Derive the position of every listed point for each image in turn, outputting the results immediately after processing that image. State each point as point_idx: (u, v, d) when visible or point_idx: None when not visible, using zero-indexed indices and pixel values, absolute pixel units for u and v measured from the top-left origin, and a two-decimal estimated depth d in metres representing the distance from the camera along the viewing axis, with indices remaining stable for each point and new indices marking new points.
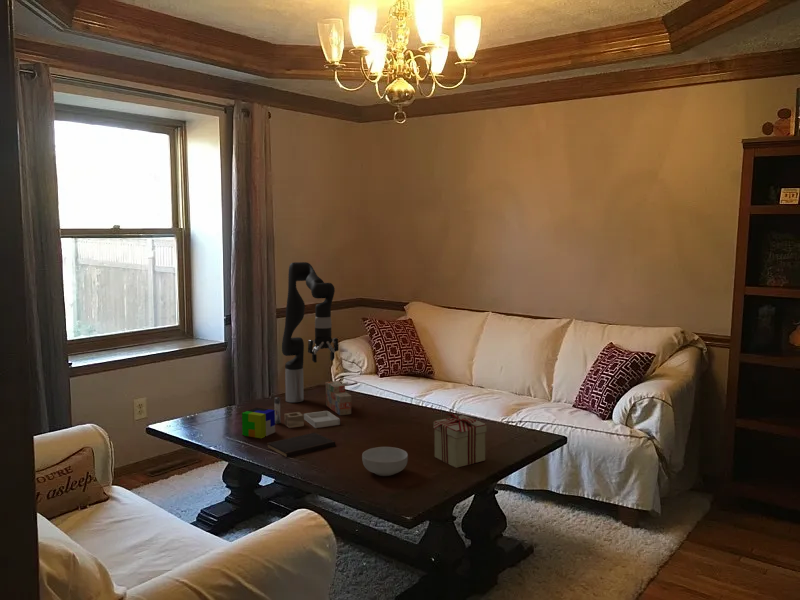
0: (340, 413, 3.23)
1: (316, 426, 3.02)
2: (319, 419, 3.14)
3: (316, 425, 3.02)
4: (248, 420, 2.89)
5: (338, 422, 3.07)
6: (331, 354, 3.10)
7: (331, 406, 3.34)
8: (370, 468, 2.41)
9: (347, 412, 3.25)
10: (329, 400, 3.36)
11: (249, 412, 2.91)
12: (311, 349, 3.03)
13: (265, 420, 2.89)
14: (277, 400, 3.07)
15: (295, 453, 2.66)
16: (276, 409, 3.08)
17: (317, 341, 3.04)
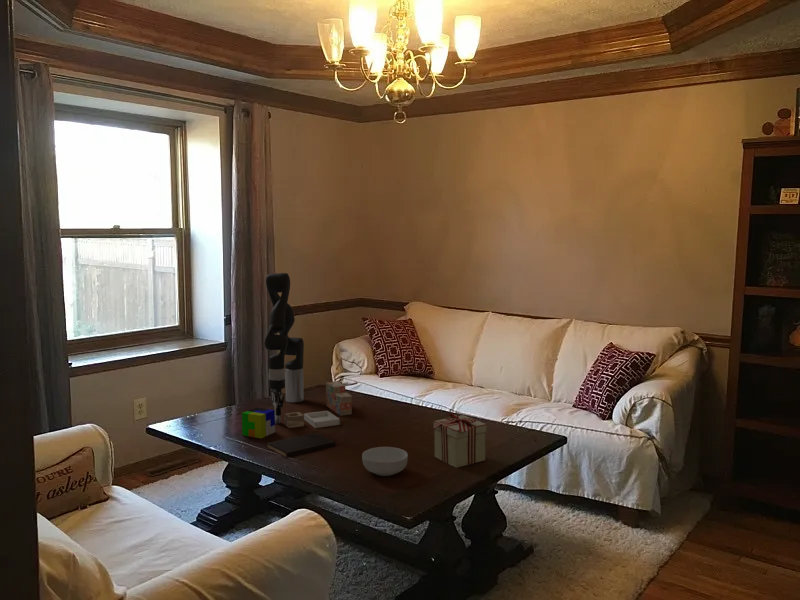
0: (341, 413, 3.23)
1: (316, 426, 3.02)
2: (319, 419, 3.14)
3: (316, 425, 3.02)
4: (248, 420, 2.89)
5: (338, 422, 3.07)
6: None
7: (331, 406, 3.33)
8: (370, 468, 2.41)
9: (348, 412, 3.24)
10: (329, 400, 3.36)
11: (249, 412, 2.91)
12: None
13: (265, 420, 2.89)
14: (277, 400, 3.07)
15: (295, 453, 2.66)
16: None
17: None
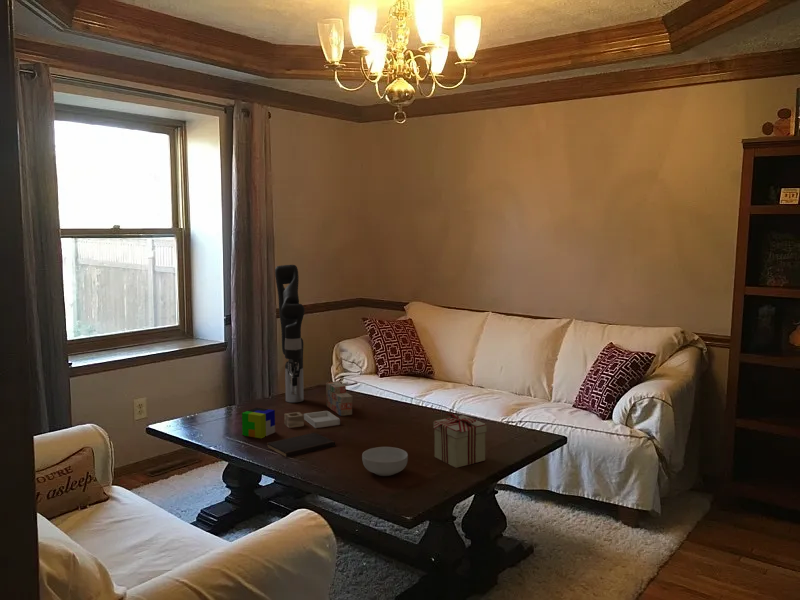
0: (341, 414, 3.22)
1: (316, 426, 3.02)
2: (319, 419, 3.14)
3: (316, 425, 3.02)
4: (248, 420, 2.89)
5: (338, 422, 3.07)
6: None
7: (332, 407, 3.33)
8: (370, 468, 2.41)
9: (348, 413, 3.24)
10: (330, 401, 3.35)
11: (249, 412, 2.91)
12: None
13: (265, 420, 2.89)
14: (293, 370, 3.03)
15: (295, 453, 2.66)
16: None
17: None
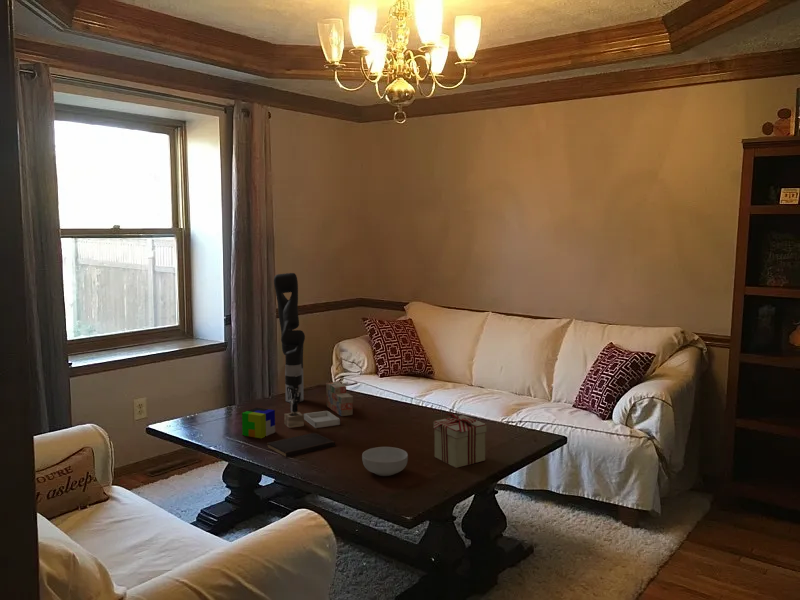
0: (342, 414, 3.22)
1: (316, 426, 3.02)
2: (319, 419, 3.14)
3: (316, 425, 3.02)
4: (248, 420, 2.89)
5: (338, 422, 3.07)
6: None
7: (332, 407, 3.32)
8: (370, 468, 2.41)
9: (349, 413, 3.23)
10: (330, 401, 3.35)
11: (249, 412, 2.91)
12: None
13: (265, 420, 2.89)
14: None
15: (295, 453, 2.66)
16: None
17: None
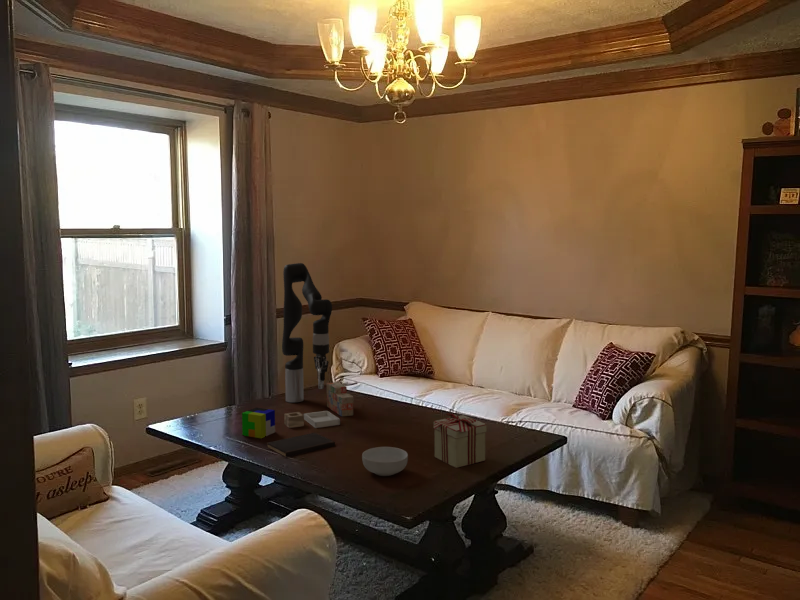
0: (342, 414, 3.21)
1: (316, 426, 3.02)
2: (319, 419, 3.14)
3: (316, 425, 3.02)
4: (248, 420, 2.89)
5: (338, 422, 3.07)
6: None
7: (332, 407, 3.32)
8: (370, 468, 2.41)
9: (349, 413, 3.23)
10: (330, 401, 3.34)
11: (249, 412, 2.91)
12: None
13: (265, 420, 2.89)
14: (321, 365, 3.08)
15: (294, 453, 2.66)
16: None
17: None
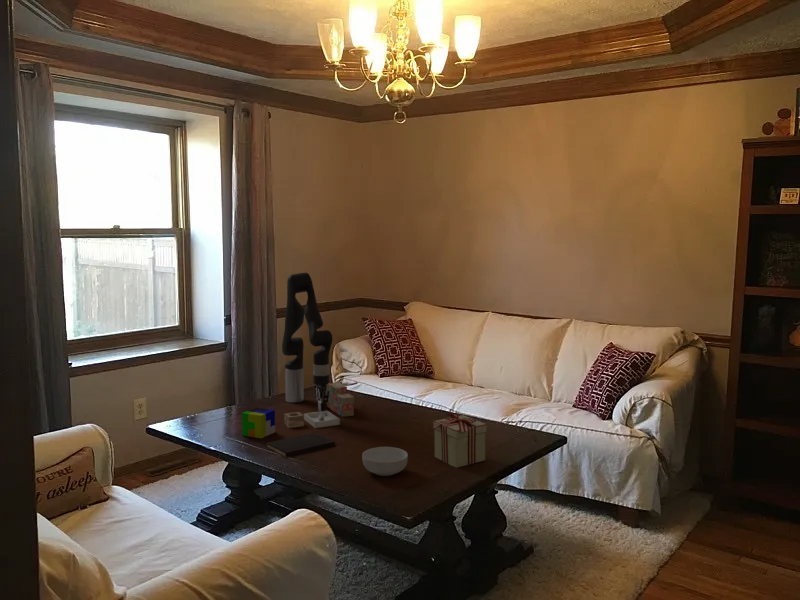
0: (343, 414, 3.21)
1: (316, 426, 3.02)
2: None
3: (316, 425, 3.02)
4: (248, 420, 2.89)
5: (338, 422, 3.07)
6: None
7: (333, 407, 3.31)
8: (370, 468, 2.41)
9: (349, 413, 3.22)
10: (331, 401, 3.34)
11: (249, 412, 2.91)
12: None
13: (265, 420, 2.89)
14: None
15: (294, 453, 2.66)
16: (320, 406, 3.10)
17: None
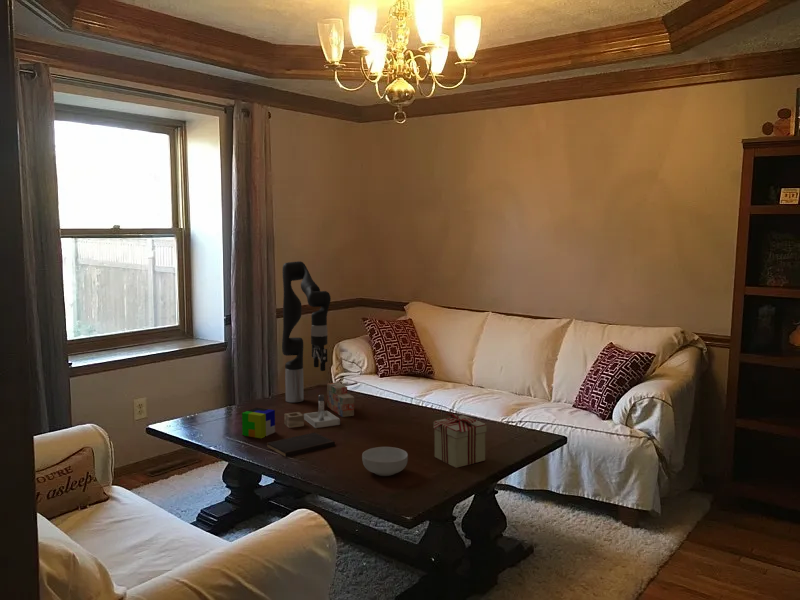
0: (343, 415, 3.20)
1: (316, 426, 3.02)
2: None
3: (316, 425, 3.02)
4: (248, 420, 2.89)
5: (338, 422, 3.07)
6: (316, 361, 3.14)
7: (333, 408, 3.31)
8: (370, 468, 2.41)
9: (350, 414, 3.22)
10: (331, 402, 3.33)
11: (249, 412, 2.91)
12: None
13: (265, 420, 2.89)
14: (321, 398, 3.10)
15: (294, 453, 2.66)
16: (320, 406, 3.10)
17: None
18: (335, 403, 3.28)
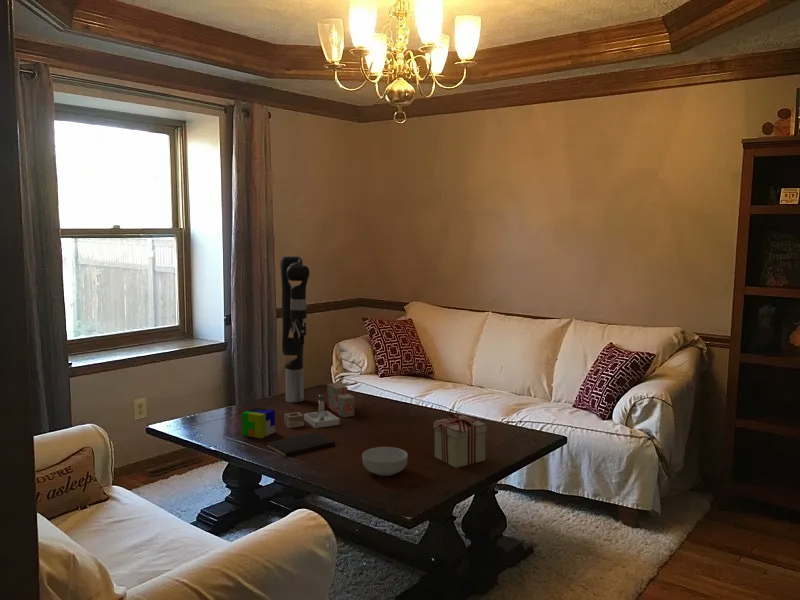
0: (343, 415, 3.20)
1: (316, 426, 3.02)
2: None
3: (316, 425, 3.02)
4: (248, 420, 2.89)
5: (338, 422, 3.07)
6: (296, 335, 3.18)
7: (333, 408, 3.31)
8: (370, 468, 2.41)
9: (350, 414, 3.22)
10: (331, 402, 3.33)
11: (249, 412, 2.91)
12: None
13: (265, 420, 2.89)
14: (321, 397, 3.10)
15: (294, 453, 2.66)
16: (320, 406, 3.10)
17: None
18: (335, 403, 3.28)
